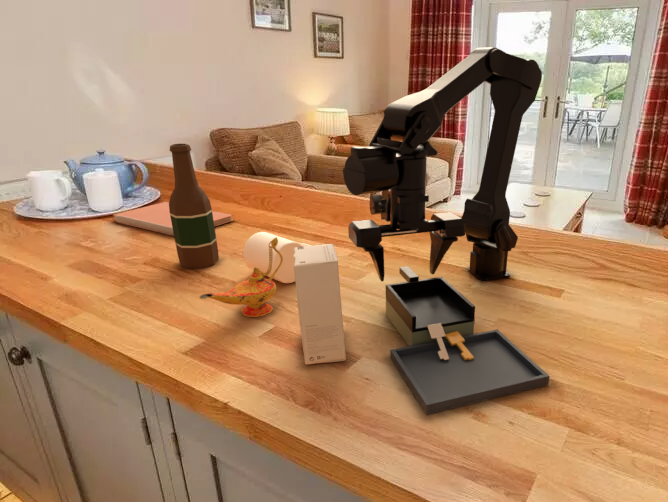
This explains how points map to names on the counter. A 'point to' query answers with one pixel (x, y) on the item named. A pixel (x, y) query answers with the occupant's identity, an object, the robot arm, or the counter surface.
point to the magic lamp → (252, 290)
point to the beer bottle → (191, 214)
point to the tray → (466, 371)
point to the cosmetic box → (319, 303)
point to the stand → (423, 336)
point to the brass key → (459, 344)
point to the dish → (428, 302)
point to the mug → (259, 256)
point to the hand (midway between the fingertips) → (407, 277)
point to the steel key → (438, 339)
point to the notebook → (159, 218)
